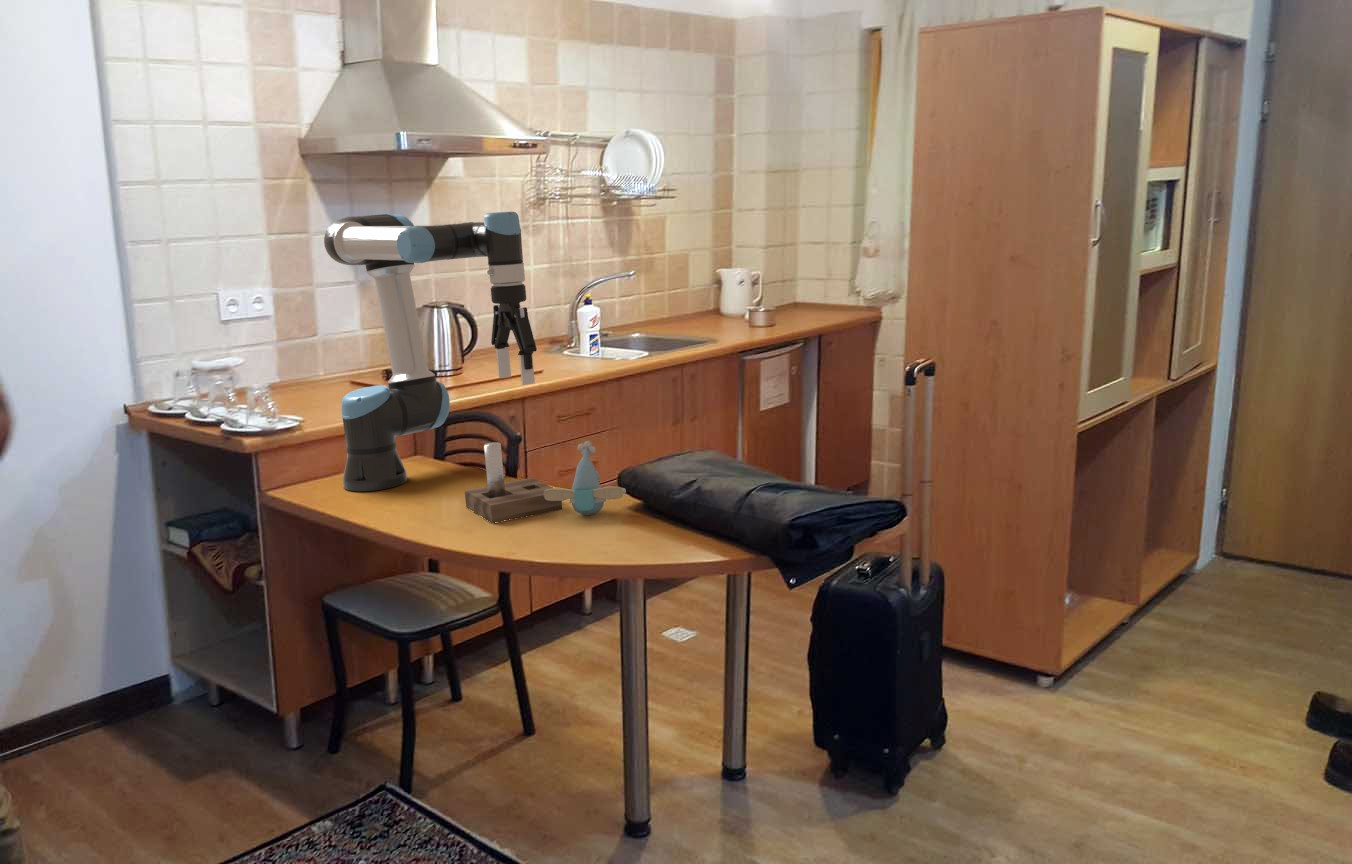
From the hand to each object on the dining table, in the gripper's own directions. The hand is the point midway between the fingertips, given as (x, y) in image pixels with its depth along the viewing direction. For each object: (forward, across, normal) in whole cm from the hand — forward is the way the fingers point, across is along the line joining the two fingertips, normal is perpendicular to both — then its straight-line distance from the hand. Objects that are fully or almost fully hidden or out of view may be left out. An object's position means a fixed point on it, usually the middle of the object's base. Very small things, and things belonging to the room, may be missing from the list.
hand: (516, 380), depth 245 cm
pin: (+26, +7, -10) cm, 28 cm away
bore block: (+27, +7, -6) cm, 28 cm away
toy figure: (+27, +22, +5) cm, 35 cm away
